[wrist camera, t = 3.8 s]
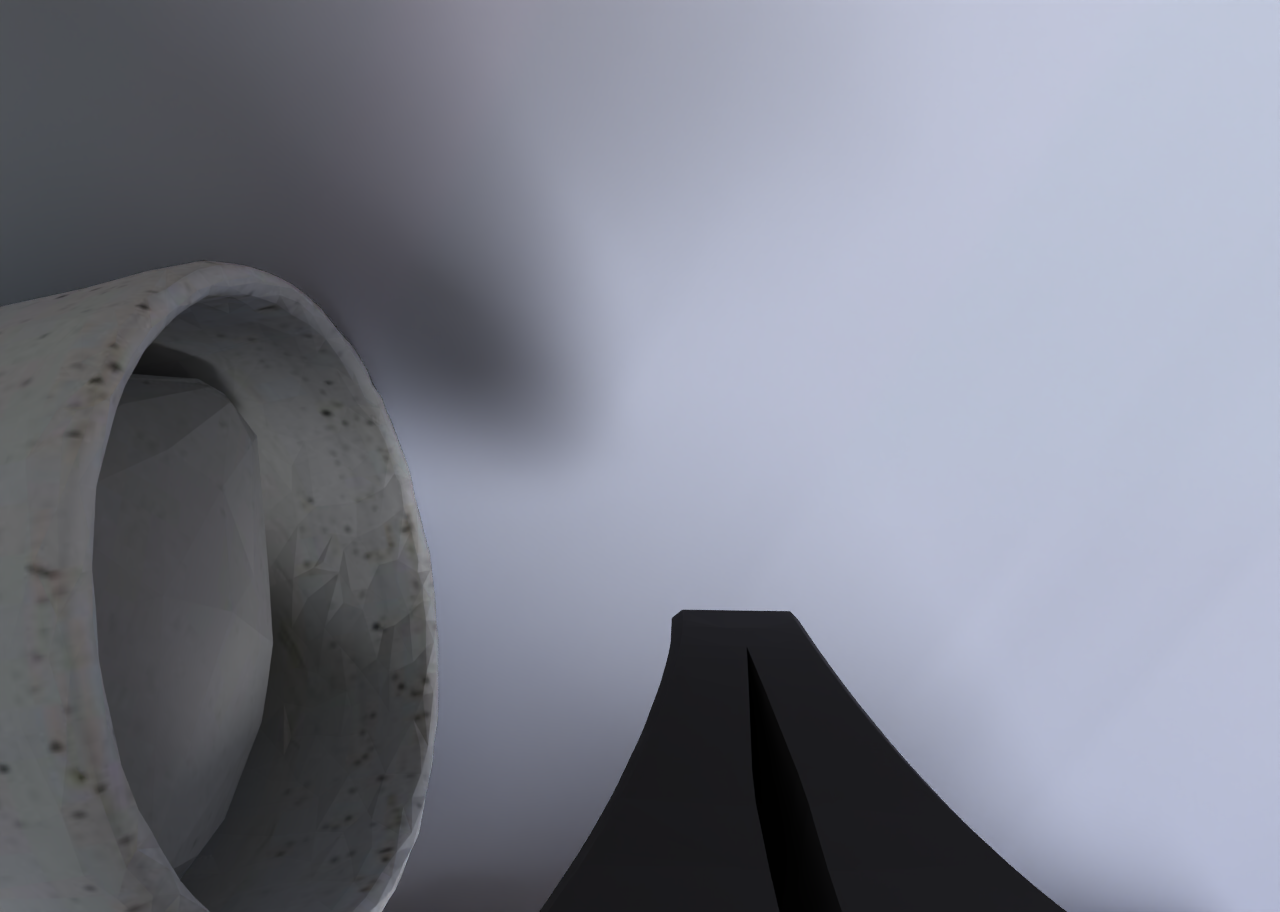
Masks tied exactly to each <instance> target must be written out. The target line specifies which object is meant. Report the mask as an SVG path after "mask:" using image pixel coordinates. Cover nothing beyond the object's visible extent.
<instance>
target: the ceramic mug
mask: <svg viewBox="0 0 1280 912" xmlns="http://www.w3.org/2000/svg"><path fill="white" fill-rule="evenodd" d="M438 701H439V698H438V632H437V624H436V607H435V594H434V585H433V576H432V567H431V560H430V552H429V549H428V545H427V541H426V538H425V534H424V530H423V526H422V522H421V518H420V514H419V510H418V507H417V503H416V500H415V496H414V490H413V484H412V479H411V476H410V472H409V468H408V464H407V462H406V459H405V457H404V454H403V452H402V449H401V446H400V444H399V441H398V438H397V436H396V433H395V430H394V428H393V425H392V422H391V420H390V418H389V416H388V414H387V412H386V409H385V406H384V403H383V400H382V398H381V396H380V394H379V393H378V391H377V390H376V388H375V387H374V385H373V384H372V382H371V379H370V376H369V374H368V371H367V369H366V368H365V366H364V364H363V363H362V361H361V359H360V358H359V356H358V354H357V352H356V351H355V349H354V348H353V346H352V345H351V344H350V343H349V342H348V341H347V340H346V339H345V338H344V336H343V335H342V334H341V333H340V332H339V331H338V330H337V328H336V327H335V326H334V324H333V323H332V322H331V321H330V319H329V318H328V317H327V315H326V314H325V313H324V312H323V310H322V309H321V308H320V307H319V306H318V305H317V304H316V303H315V302H313V301H312V300H311V299H310V298H309V297H308V296H307V295H306V294H304V293H303V292H302V291H301V290H299V289H298V288H297V287H295V286H294V285H293V284H291V283H289V282H287V281H285V280H283V279H281V278H279V277H277V276H275V275H272V274H270V273H268V272H265V271H262V270H259V269H255V268H252V267H249V266H244V265H239V264H233V263H224V262H214V261H205V260H203V261H197V262H192V263H187V264H181V265H176V266H171V267H165V268H160V269H155V270H149V271H145V272H142V273H138V274H134V275H131V276H127V277H123V278H120V279H116V280H112V281H109V282H105V283H101V284H98V285H94V286H90V287H87V288H83V289H78V290H74V291H69V292H65V293H60V294H55V295H51V296H46V297H42V298H37V299H33V300H28V301H23V302H19V303H14V304H10V305H5V306H1V307H0V912H382V911H383V909H384V907H385V906H386V904H387V902H388V900H389V899H390V897H391V896H392V894H393V893H394V891H395V890H396V887H397V885H398V883H399V881H400V878H401V876H402V873H403V871H404V868H405V865H406V863H407V860H408V858H409V855H410V852H411V850H412V848H413V846H414V844H415V842H416V839H417V837H418V835H419V831H420V826H421V820H422V815H423V809H424V804H425V798H426V793H427V788H428V784H429V779H430V774H431V769H432V763H433V752H434V742H435V735H436V728H437V721H438Z"/></svg>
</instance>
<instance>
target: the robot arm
mask: <svg viewBox="0 0 1280 912" xmlns="http://www.w3.org/2000/svg"><path fill="white" fill-rule="evenodd" d="M539 912H1066V911H1065V910H1064V909H1062V908H1061V907H1060V906H1059V905H1057V904H1056V903H1055V902H1054V901H1052V900H1051V899H1050V898H1048V897H1047V896H1046V895H1045V894H1043V893H1042V892H1041V891H1040V890H1039V889H1037V888H1036V887H1035V886H1034V885H1033V884H1032V883H1030V882H1029V881H1028V880H1027V879H1026V878H1024V877H1023V876H1022V875H1021V874H1020V873H1019V872H1017V871H1016V870H1015V869H1014V868H1013V867H1012V866H1011V865H1009V864H1008V863H1007V862H1006V861H1005V860H1004V859H1003V858H1002V857H1001V856H1000V855H999V854H997V853H996V852H995V851H994V850H993V849H992V848H991V847H990V846H989V845H988V844H987V843H985V842H984V841H983V840H982V839H981V838H980V837H979V836H978V835H977V834H976V833H975V832H974V831H972V830H971V829H970V828H969V827H968V826H967V825H966V824H965V823H964V822H963V821H962V820H961V819H960V818H959V817H958V816H957V815H956V814H955V813H954V812H953V811H952V810H951V809H950V808H949V806H948V805H947V804H946V803H945V802H944V801H943V800H942V799H941V798H940V797H939V796H938V795H937V794H936V793H935V792H934V791H933V790H932V789H931V787H930V786H929V785H928V784H927V783H926V782H925V781H924V780H923V779H922V778H921V777H920V776H919V774H918V773H917V772H916V771H915V770H914V769H913V768H912V767H911V766H910V765H909V764H908V762H907V761H906V760H905V759H904V758H903V757H902V756H901V754H900V753H899V752H898V751H897V750H896V749H895V747H894V746H893V745H892V744H891V743H890V742H889V740H888V739H887V738H886V737H885V736H884V734H883V733H882V732H881V731H880V729H879V728H878V727H877V726H876V725H875V723H874V722H873V721H872V720H871V718H870V717H869V716H868V715H867V714H866V712H865V711H864V710H863V709H862V707H861V706H860V705H859V704H858V702H857V701H856V700H855V699H854V697H853V696H852V695H851V693H850V692H849V691H848V689H847V688H846V687H845V685H844V684H843V683H842V681H841V680H840V679H839V677H838V676H837V675H836V673H835V672H834V671H833V669H832V668H831V667H830V665H829V664H828V662H827V661H826V660H825V658H824V657H823V655H822V654H821V653H820V651H819V650H818V648H817V647H816V645H815V644H814V643H813V641H812V640H811V638H810V637H809V635H808V634H807V632H806V631H805V629H804V628H803V626H802V625H801V623H800V622H799V620H798V619H797V618H796V617H795V616H794V615H793V614H792V613H791V612H790V611H727V610H682V611H680V612H679V613H678V614H676V615H675V616H674V617H673V618H672V627H671V644H670V650H669V654H668V658H667V663H666V666H665V669H664V673H663V676H662V680H661V683H660V686H659V689H658V692H657V694H656V697H655V700H654V702H653V705H652V708H651V710H650V713H649V716H648V719H647V721H646V724H645V727H644V729H643V731H642V734H641V736H640V738H639V741H638V743H637V745H636V747H635V749H634V751H633V753H632V755H631V757H630V759H629V762H628V764H627V766H626V768H625V770H624V772H623V774H622V776H621V778H620V781H619V783H618V785H617V787H616V789H615V791H614V793H613V794H612V796H611V798H610V800H609V802H608V804H607V806H606V807H605V809H604V811H603V813H602V815H601V816H600V818H599V820H598V822H597V823H596V825H595V827H594V829H593V830H592V832H591V834H590V835H589V837H588V839H587V840H586V842H585V844H584V845H583V847H582V849H581V850H580V852H579V853H578V855H577V857H576V858H575V860H574V861H573V863H572V864H571V866H570V867H569V869H568V870H567V872H566V873H565V875H564V876H563V878H562V879H561V881H560V882H559V884H558V885H557V887H556V888H555V890H554V891H553V893H552V894H551V896H550V897H549V899H548V900H547V902H546V903H545V905H544V906H543V907H542V909H541V910H540V911H539Z"/></svg>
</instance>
